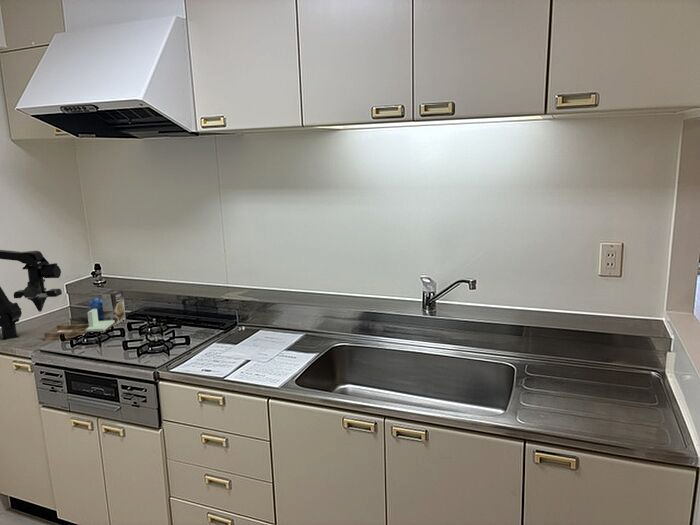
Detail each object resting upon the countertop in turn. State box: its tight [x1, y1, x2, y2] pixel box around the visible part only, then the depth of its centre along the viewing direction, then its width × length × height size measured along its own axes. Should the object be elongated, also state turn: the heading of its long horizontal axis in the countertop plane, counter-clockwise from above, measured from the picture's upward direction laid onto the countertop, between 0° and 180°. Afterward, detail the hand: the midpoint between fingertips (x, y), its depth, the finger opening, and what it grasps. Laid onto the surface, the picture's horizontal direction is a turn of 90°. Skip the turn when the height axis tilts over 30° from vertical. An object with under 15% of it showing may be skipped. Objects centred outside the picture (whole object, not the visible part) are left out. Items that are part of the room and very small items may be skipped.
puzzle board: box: [43, 323, 116, 341], centre depth 241 cm, size 26×16×3 cm, turn 95°
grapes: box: [88, 296, 104, 321], centre depth 263 cm, size 12×7×12 cm, turn 80°
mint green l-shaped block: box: [85, 309, 115, 331], centre depth 241 cm, size 8×14×8 cm, turn 5°
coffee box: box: [101, 289, 126, 326], centre depth 258 cm, size 9×6×16 cm
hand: (40, 311), depth 237 cm, fingers closed
